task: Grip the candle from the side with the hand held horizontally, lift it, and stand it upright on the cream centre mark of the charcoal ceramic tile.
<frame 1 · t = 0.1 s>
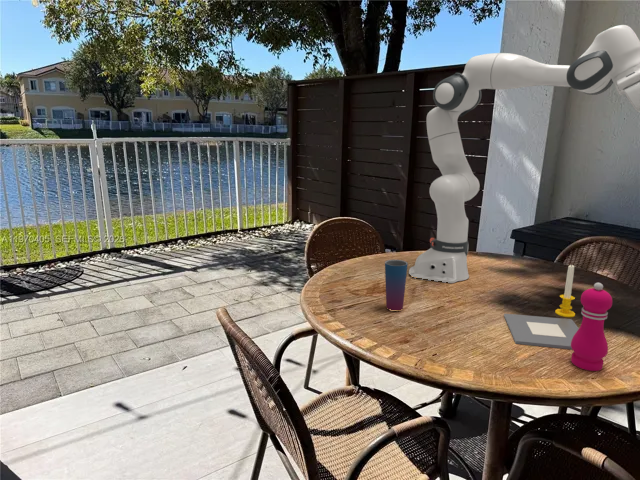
candle: (564, 314, 127), on the table
pepper mill: (586, 364, 98), on the table
cup: (394, 309, 131), on the table
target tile: (545, 332, 115), on the table
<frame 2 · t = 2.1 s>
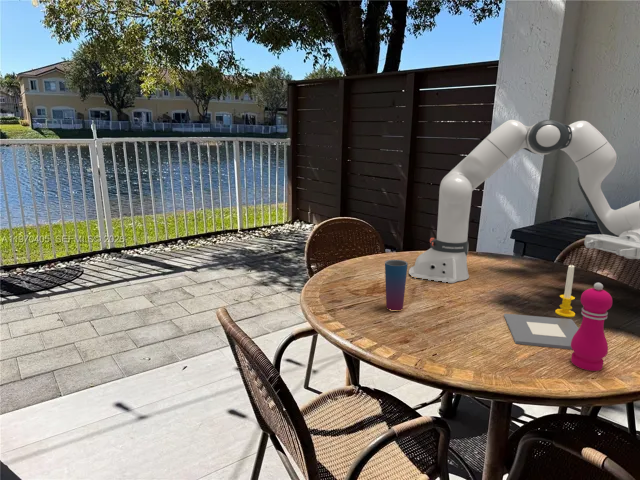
hand: (602, 248, 126), 19 cm above the table, tool horizontal, fingers open, 8 cm apart
nothing on the table moved.
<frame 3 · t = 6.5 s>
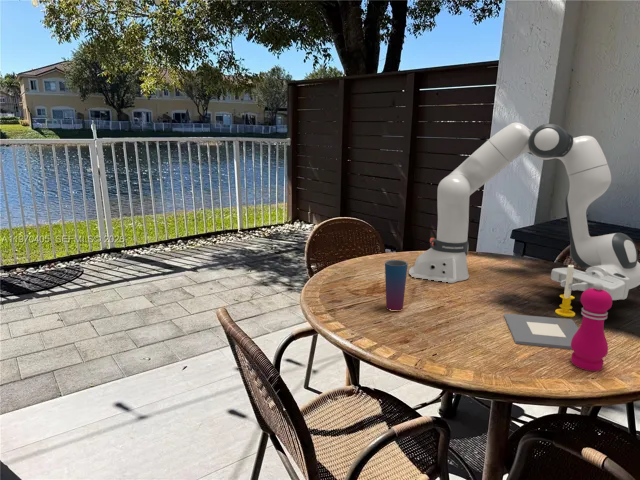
hand: (566, 285, 124), 9 cm above the table, tool horizontal, fingers closed on candle
candle: (564, 314, 127), on the table, touching gripper
everything else where it was.
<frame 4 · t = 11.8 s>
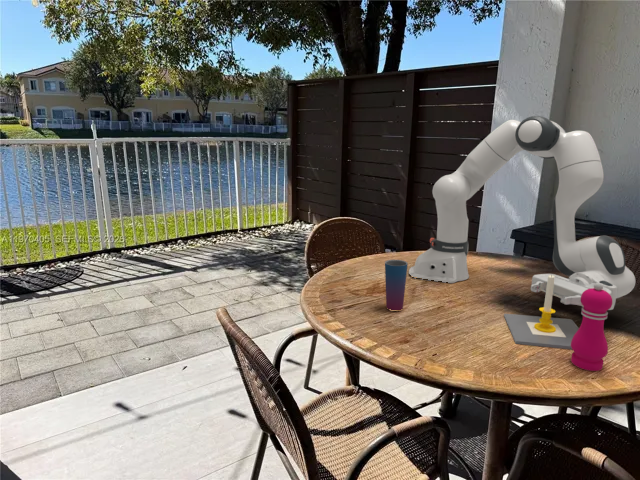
hand: (547, 294, 112), 11 cm above the table, tool horizontal, fingers open, 8 cm apart
candle: (544, 329, 115), point 1 cm above the table, touching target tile
everything else where it was.
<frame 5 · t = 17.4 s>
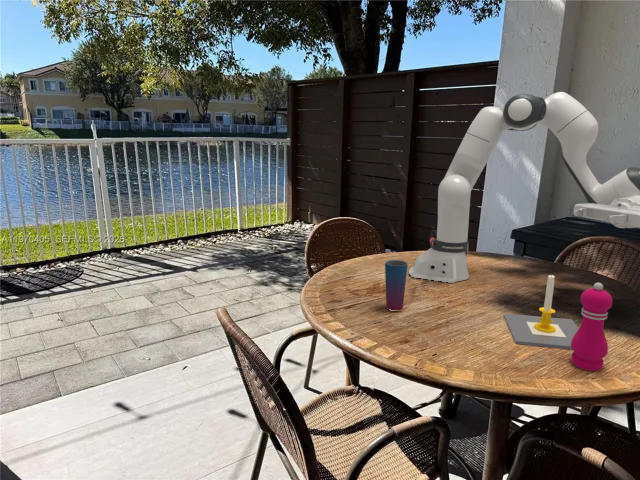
hand: (592, 216, 118), 30 cm above the table, tool horizontal, fingers open, 8 cm apart
nothing on the table moved.
at the end: candle inside the target area on the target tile (0.4 cm from its centre), point 0.7 cm above the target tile's base; candle tilted 0°; the gripper is holding nothing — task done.
